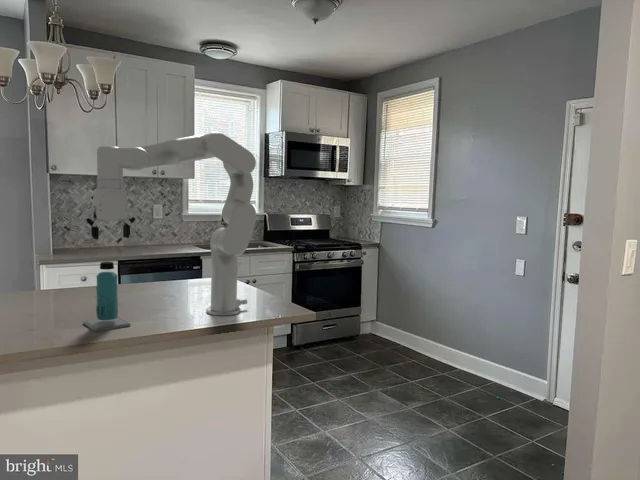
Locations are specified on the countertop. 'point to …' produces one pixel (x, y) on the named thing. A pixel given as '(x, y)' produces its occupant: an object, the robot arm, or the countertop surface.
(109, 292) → the beverage bottle
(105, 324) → the plate
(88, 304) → the countertop surface
